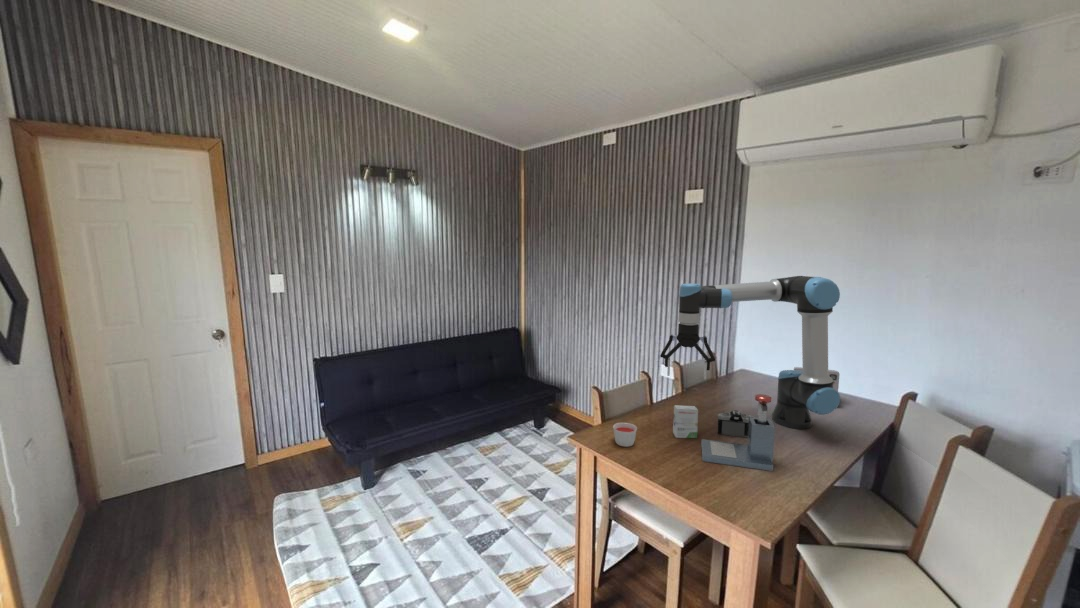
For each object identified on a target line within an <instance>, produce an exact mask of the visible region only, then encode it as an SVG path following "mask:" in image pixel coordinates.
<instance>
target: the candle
mask: <svg viewBox="0 0 1080 608" xmlns="http://www.w3.org/2000/svg"><path fill="white" fill-rule="evenodd" d="M612 428H613V433H614V434H613V436H614V439H615V440H614V441H615V443H616V445H618V446H621V447H628V448H629V447H632V446H633V445H634V444H635V440H636V435H637V430H638V427H637V425H635V424H633V423H630V422H616V423H614V425H612Z"/></svg>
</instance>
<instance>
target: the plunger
mask: <svg viewBox="0 0 1080 608" xmlns="http://www.w3.org/2000/svg"><path fill="white" fill-rule="evenodd" d="M754 400H755V401H757V402H758V403H757V404H758V405H757V417H756V418H757V424H762V425H766V419H768V417H767V416H768V403H771V402H772V396H770V395H766V394H760V393H759V394H755V395H754Z"/></svg>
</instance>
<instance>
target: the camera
mask: <svg viewBox="0 0 1080 608" xmlns="http://www.w3.org/2000/svg"><path fill="white" fill-rule="evenodd" d="M749 417H751V418H757V417H755V416H752V415H750V414H745V413H741V412H740V411H739V410H736V409H735V410H734V409H733V410H731V411H730V412H728V411H722V413H718V414H717V415H716V418H717V434H718V435H725V436H726V435H727V436H732V437H739V438H740V437H741V438H747V439H748V431H749Z"/></svg>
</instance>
